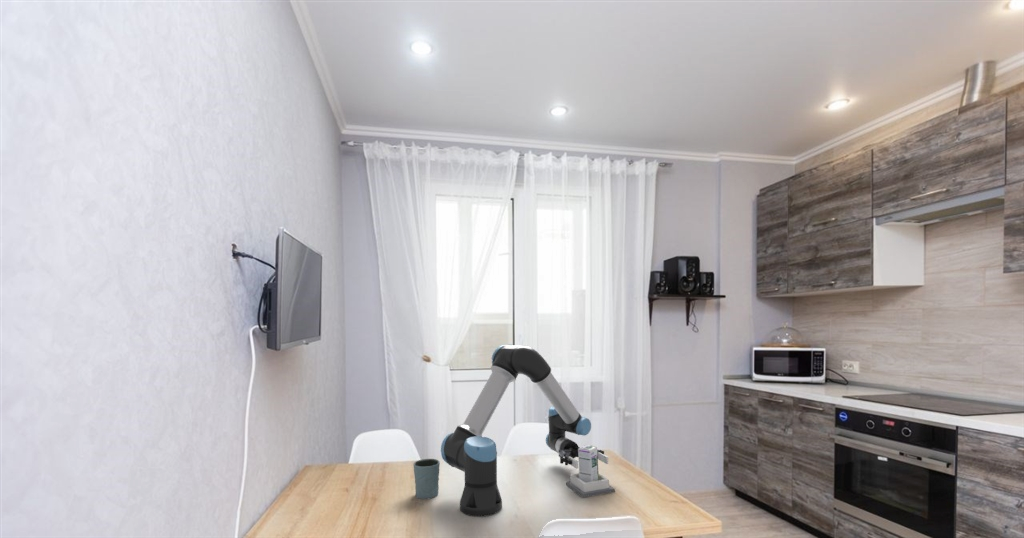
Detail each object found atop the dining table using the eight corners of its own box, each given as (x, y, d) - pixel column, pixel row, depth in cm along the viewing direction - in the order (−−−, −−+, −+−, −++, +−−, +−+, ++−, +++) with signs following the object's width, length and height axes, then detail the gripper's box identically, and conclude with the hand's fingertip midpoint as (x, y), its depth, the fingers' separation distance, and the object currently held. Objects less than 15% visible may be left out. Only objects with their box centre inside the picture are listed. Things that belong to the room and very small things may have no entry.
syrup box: (592, 489, 173) (591, 450, 175) (579, 485, 177) (577, 447, 178) (599, 484, 178) (597, 446, 179) (585, 481, 181) (584, 444, 183)
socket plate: (583, 497, 168) (582, 485, 169) (565, 484, 181) (565, 474, 182) (614, 491, 173) (614, 480, 173) (595, 479, 186) (595, 469, 186)
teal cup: (434, 500, 168) (434, 467, 169) (408, 498, 170) (409, 466, 171) (443, 490, 177) (443, 458, 179) (419, 488, 179) (419, 457, 181)
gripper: (592, 453, 199) (619, 468, 180) (541, 460, 191) (564, 477, 171) (591, 436, 200) (619, 448, 180) (540, 442, 191) (563, 456, 172)
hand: (592, 462), depth 176 cm, fingers open, 13 cm apart
